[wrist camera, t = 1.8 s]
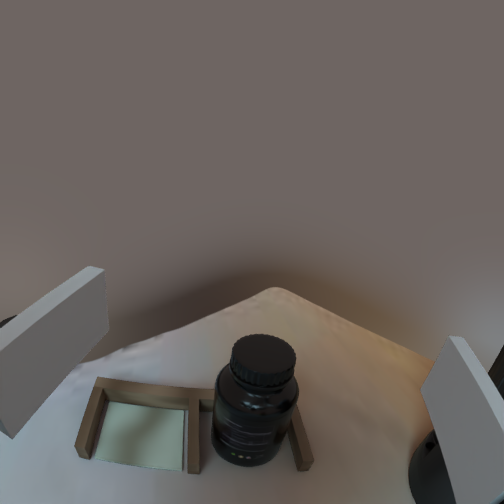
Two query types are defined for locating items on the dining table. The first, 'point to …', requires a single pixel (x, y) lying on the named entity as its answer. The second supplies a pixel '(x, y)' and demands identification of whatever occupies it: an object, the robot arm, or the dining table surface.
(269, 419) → the supplement bottle
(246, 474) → the dining table surface
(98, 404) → the notch rail
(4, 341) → the robot arm
